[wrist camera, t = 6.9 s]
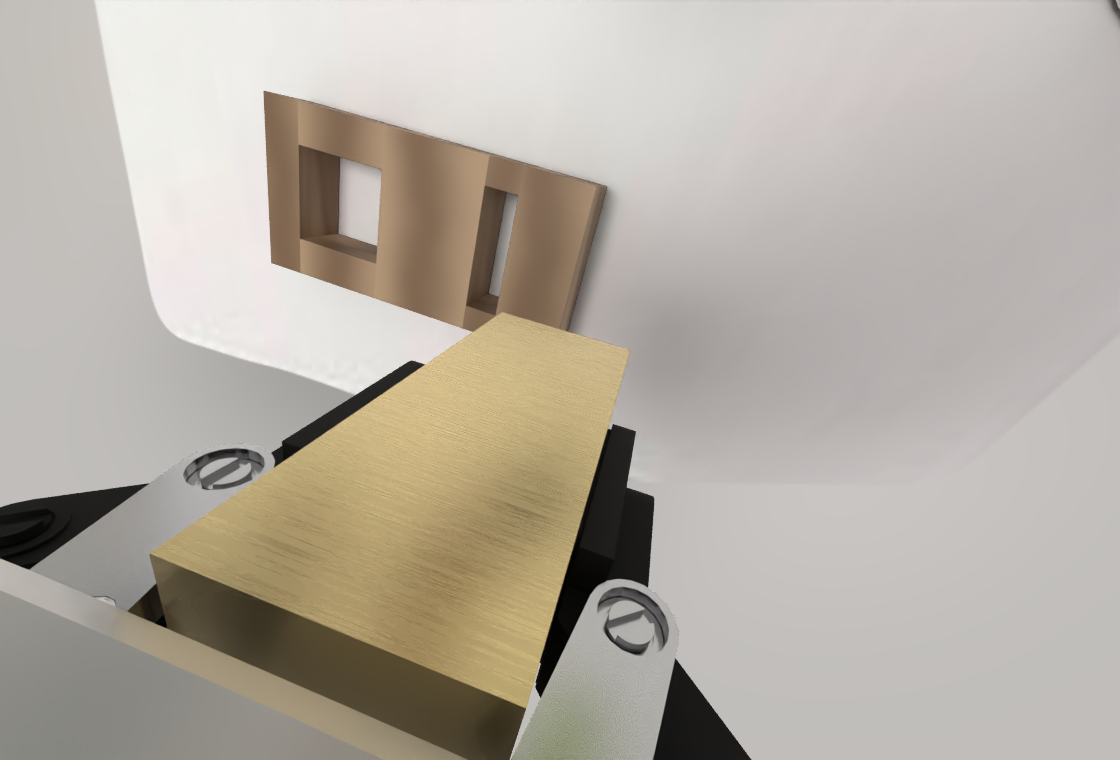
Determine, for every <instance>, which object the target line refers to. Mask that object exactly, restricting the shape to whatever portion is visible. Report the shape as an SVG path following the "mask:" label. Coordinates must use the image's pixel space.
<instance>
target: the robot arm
mask: <svg viewBox="0 0 1120 760" xmlns="http://www.w3.org/2000/svg"><path fill="white" fill-rule="evenodd" d="M1116 3H1117V5H1118V8H1119V9H1120V0H1116ZM424 365H425V364H422V363H419V362H415V361H409V362H407V363H406V364H404V365H403V366H401V367H399V368H398V369H396V370H395V371H393V372H392V373H390V374H388V375H387V376H385V377H384V378H382V379H380V380H379V381H377V382H376V383H374V384H372V385H371V386H369V387H368V388H366V389H365V390H363V391H361V392H360V393H358V394H357V395H355V396H353V397H352V398H350V399H349V400H347V401H345V402H344V403H342V404H341V405H339V406H338V407H336V408H334V409H333V410H331V411H330V412H328V413H326V414H325V415H323V416H322V417H320V418H318V419H317V420H315V421H314V422H312V423H310V424H309V425H307V426H306V427H304V428H303V429H301V430H299V431H298V432H296V433H295V434H293V435H291V436H290V437H288V438H287V439H285V440H283V441H282V446H281V447H280V448H278V449H277V450H275V451H273V452H272V453H270V452H269V451H268V450H266V449H265V448H262V447H259V446H256V445H252V444H243V443H236V444H223V445H218V446H213V447H209V448H206V449H204V450H201V451H198V452H196V453H194V454H192V455H190V456H188V457H187V458H185V459H183V460H182V461H180V462H179V463H178V464H176V465H175V466H173V467H172V468H171V469H169V470H168V471H166V472H165V473H164V474H162V475H161V476H159V477H158V478H157V479H155V480H154V481H152V482H151V483H149V484H142V485H134V486H127V487H119V488H113V489H106V490H98V491H91V492H83V493H76V494H69V495H62V496H55V497H48V498H40V499H33V500H28V501H23V502H18V503H14V504H10V505H7V506H3V507H0V760H467V759H465V758H463V757H461V756H458V755H456V754H454V753H452V752H449V751H447V750H445V749H442V748H440V747H438V746H436V745H433V744H431V743H429V742H427V741H424V740H422V739H420V738H417V737H415V736H413V735H411V734H408V733H406V732H404V731H401V730H399V729H397V728H395V727H392V726H390V725H388V724H386V723H383V722H381V721H379V720H376V719H374V718H372V717H370V716H367V715H365V714H363V713H361V712H358V711H356V710H354V709H351V708H349V707H347V706H345V705H342V704H340V703H338V702H335V701H333V700H331V699H328V698H326V697H324V696H322V695H319V694H317V693H315V692H312V691H310V690H308V689H305V688H303V687H301V686H298V685H296V684H294V683H292V682H289V681H287V680H285V679H282V678H280V677H278V676H275V675H273V674H271V673H268V672H266V671H264V670H262V669H259V668H257V667H255V666H252V665H250V664H248V663H245V662H243V661H241V660H238V659H236V658H234V657H231V656H229V655H227V654H224V653H222V652H220V651H218V650H215V649H213V648H211V647H208V646H206V645H204V644H201V643H199V642H197V641H194V640H192V639H190V638H187V637H185V636H183V635H180V634H178V633H176V632H173V631H171V630H169V629H168V628H167V624H166V620H165V616H164V612H163V608H162V604H161V600H160V596H159V592H158V588H157V584H156V580H155V576H154V572H153V568H152V564H151V560H150V556H149V553H150V552H152V551H153V550H155V549H156V548H158V547H159V546H160V545H162V544H163V543H165V542H166V541H168V540H169V539H171V538H172V537H174V536H175V535H177V534H178V533H179V532H181V531H182V530H184V529H185V528H187V527H188V526H190V525H191V524H193V523H194V522H196V521H197V520H199V519H200V518H201V517H203V516H204V515H206V514H207V513H209V512H210V511H212V510H213V509H215V508H216V507H218V506H219V505H220V504H222V503H223V502H225V501H226V500H228V499H229V498H231V497H232V496H234V495H235V494H237V493H238V492H240V491H241V490H242V489H244V488H245V487H247V486H248V485H250V484H251V483H253V482H254V481H256V480H257V479H259V478H260V477H261V476H263V475H264V474H266V473H267V472H269V471H270V470H272V469H273V468H275V467H276V466H278V465H279V464H281V463H282V462H283V461H285V460H286V459H288V458H289V457H291V456H292V455H294V454H295V453H297V452H298V451H300V450H301V449H302V448H304V447H305V446H307V445H308V444H310V443H311V442H313V441H314V440H316V439H317V438H319V437H320V436H322V435H323V434H324V433H326V432H327V431H329V430H330V429H332V428H333V427H335V426H336V425H338V424H339V423H341V422H342V421H343V420H345V419H346V418H348V417H349V416H351V415H352V414H354V413H355V412H357V411H358V410H360V409H361V408H362V407H364V406H365V405H367V404H368V403H370V402H371V401H373V400H374V399H376V398H377V397H379V396H380V395H382V394H383V393H384V392H386V391H387V390H389V389H390V388H392V387H393V386H395V385H396V384H398V383H399V382H401V381H402V380H403V379H405V378H406V377H408V376H409V375H411V374H412V373H414V372H415V371H417V370H418V369H420V368H421V367H423V366H424ZM635 434H636V431H633V430H630V429H627V428H624V427H621V426H618V425H614V424H613V426H612V429H611V430H610V429H607V433H606V436H605V440H604V443H603V447H602V450H601V453H600V457H599V460H598V464H597V467H596V471H595V474H594V477H593V481H592V484H591V488H590V491H589V495H588V498H587V501H586V505H585V508H584V512H583V515H582V519H581V522H580V525H579V529H578V532H577V536H576V539H575V543H574V546H573V549H572V553H571V556H570V560H569V563H568V567H567V570H566V573H565V577H564V580H563V584H562V587H561V591H560V594H559V597H558V601H557V604H556V608H555V611H554V615H553V618H552V621H551V625H550V628H549V632H548V635H547V639H546V642H545V645H544V649H543V652H542V656H541V659H540V663H541V665H540V669H539V672H538V676H537V679H536V690H537V692H538V693H539V696H540V698H541V699H540V701H539V703H538V706H537V707H536V709H535V711H534V714H533V716H532V718H531V720H530V722H529V724H528V726H527V728H526V730H525V732H524V734H523V736H522V738H521V740H520V743H519V745H518V747H517V749H516V751H515V753H514V755H513V757H512V759H511V760H751V759H750V757H749V756H748V755H747V753H746V752H745V751H744V750H743V748H742V747H741V745H740V744H739V743H738V741H737V740H736V739H735V737H734V736H733V735H732V733H731V732H730V731H729V729H728V728H727V727H726V725H725V724H724V722H723V721H722V720H721V718H720V717H719V716H718V714H717V713H716V712H715V711H714V709H713V708H712V706H711V705H710V704H709V702H708V701H707V700H706V699H705V697H704V696H703V694H702V693H701V692H700V690H699V689H698V688H697V687H696V685H695V684H694V682H693V681H692V680H691V678H690V677H689V676H688V674H687V673H686V672H685V670H684V669H683V668H682V666H681V665H680V664H679V663H678V661H677V660H676V658H675V656H676V652H677V647H678V636H679V630H678V627H677V623H676V620H675V617H674V615H673V614H672V612H671V610H670V609H669V607H668V605H667V604H666V603H665V602H664V601H663V600H662V599H661V598H660V597H659V596H658V595H657V594H656V593H655V592H653V591H652V590H650V589H649V588H648V582H649V568H650V554H651V540H652V526H653V512H654V497H653V496H650V495H647V494H644V493H641V492H639V491H636V490H632V489H629V488H627V481H628V475H629V469H630V463H631V457H632V451H633V446H634V440H635Z"/></svg>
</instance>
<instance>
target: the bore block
mask: <svg viewBox="0 0 1120 760" xmlns="http://www.w3.org/2000/svg"><path fill="white" fill-rule="evenodd" d="M264 111H265V133H266V155H267V177H268V199H269V221H270V243H271V263H273V264H276V265H279V266H282V267H285V268H288V269H291V270H294V271H297V272H299V273H302V274H305V275H308V276H311V277H314V278H317V279H320V280H323V281H326V282H329V283H332V284H335V285H338V286H340V287H343V288H346V289H349V290H352V291H355V292H358V293H361V294H364V295H367V296H370V297H373V298H376V299H379V300H381V301H384V302H387V303H390V304H393V305H396V306H399V307H402V308H405V309H408V310H411V311H414V312H417V313H420V314H422V315H425V316H428V317H431V318H434V319H437V320H440V321H443V322H446V323H449V324H452V325H455V326H458V327H461V328H463V329H466V330H469V331H472V332H474V331H475V330H477V329H478V328H480V327H481V326H483V325H484V324H485V323H487V322H488V321H490V320H491V319H493V318H494V317H496V316H497V315H499V314H500V313H502V312H503V313H506V314H510V315H513V316H517V317H520V318H523V319H527V320H530V321H534V322H537V323H540V324H544V325H547V326H551V327H554V328H557V329H561V330H564V331H568V328H569V324H570V321H571V317H572V313H573V310H574V306H575V302H576V299H577V295H578V291H579V288H580V284H581V280H582V277H583V273H584V269H585V266H586V262H587V258H588V255H589V251H590V247H591V244H592V240H593V236H594V233H595V229H596V225H597V222H598V218H599V214H600V211H601V207H602V203H603V200H604V196H605V192H606V189H607V186H604V185H601V184H597V183H594V182H590V181H587V180H583V179H580V178H576V177H573V176H569V175H566V174H562V173H559V172H555V171H552V170H548V169H545V168H541V167H538V166H534V165H531V164H527V163H524V162H520V161H517V160H513V159H510V158H506V157H503V156H499V155H496V154H492V153H489V152H485V151H482V150H478V149H475V148H471V147H468V146H464V145H461V144H457V143H454V142H450V141H447V140H443V139H440V138H436V137H433V136H429V135H426V134H422V133H419V132H415V131H412V130H408V129H405V128H401V127H398V126H394V125H391V124H387V123H384V122H380V121H377V120H373V119H370V118H366V117H363V116H359V115H356V114H352V113H349V112H345V111H342V110H338V109H335V108H331V107H328V106H324V105H321V104H317V103H314V102H310V101H306V100H302V99H297V98H293V97H289V96H284V95H280V94H276V93H271V92H267V91H264ZM340 157H342V158H345V159H349V160H352V161H355V162H359V163H362V164H365V165H369V166H372V167H375V168H379V169H382V177H381V194H380V210H379V227H378V243H377V246H374V245H371V244H368V243H365V242H362V241H359V240H356V239H353V238H350V237H346V236H343V235H340V234H338V206H339V159H340ZM506 192H509V193H512V194H515V195H519V196H518V201H517V207H516V212H515V217H514V222H513V227H512V233H511V238H510V243H509V248H508V254H507V259H506V264H505V269H504V274H503V280H502V285H501V290H500V295H499V297H497V296H494V295H491V294H488V291H489V286H490V280H491V274H492V269H493V263H494V258H495V252H496V247H497V241H498V235H499V230H500V224H501V219H502V213H503V208H504V202H505V196H506Z"/></svg>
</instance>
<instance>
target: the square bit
mask: <svg viewBox="0 0 1120 760" xmlns="http://www.w3.org/2000/svg"><path fill="white" fill-rule="evenodd" d="M630 351H631V350H629V349H625V348H622V347H618V346H615V345H612V344H608V343H605V342H601V341H598V340H595V339H591V338H588V337H584V336H581V335H578V334H574V333H571V332H567V331H564V330H561V329H557V328H554V327H551V326H547V325H544V324H540V323H537V322H534V321H530V320H527V319H523V318H520V317H517V316H513V315H510V314H506V313H503V312H502V313H500V314H499V315H497V316H496V317H494V318H493V319H491V320H490V321H488V322H487V323H485V324H484V325H483V326H481V327H480V328H478V329H477V330H475V331H474V332H472V333H471V334H469V335H468V336H466V337H465V338H464V339H462V340H461V341H459V342H458V343H456V344H455V345H453V346H452V347H450V348H449V349H447V350H446V351H444V352H443V353H442V354H440V355H439V356H437V357H436V358H434V359H433V360H431V361H430V362H428V363H427V364H425V365H424V366H423V367H421V368H420V369H418V370H417V371H415V372H414V373H412V374H411V375H409V376H408V377H406V378H405V379H403V380H402V381H401V382H399V383H398V384H396V385H395V386H393V387H392V388H390V389H389V390H387V391H386V392H384V393H383V394H382V395H380V396H379V397H377V398H376V399H374V400H373V401H371V402H370V403H368V404H367V405H365V406H364V407H362V408H361V409H360V410H358V411H357V412H355V413H354V414H352V415H351V416H349V417H348V418H346V419H345V420H343V421H342V422H341V423H339V424H338V425H336V426H335V427H333V428H332V429H330V430H329V431H327V432H326V433H324V434H323V435H322V436H320V437H319V438H317V439H316V440H314V441H313V442H311V443H310V444H308V445H307V446H305V447H304V448H302V449H301V450H300V451H298V452H297V453H295V454H294V455H292V456H291V457H289V458H288V459H286V460H285V461H283V462H282V463H281V464H279V465H278V466H276V467H275V468H273V469H272V470H270V471H269V472H267V473H266V474H264V475H263V476H261V477H260V478H259V479H257V480H256V481H254V482H253V483H251V484H250V485H248V486H247V487H245V488H244V489H242V490H241V491H240V492H238V493H237V494H235V495H234V496H232V497H231V498H229V499H228V500H226V501H225V502H223V503H222V504H220V505H219V506H218V507H216V508H215V509H213V510H212V511H210V512H209V513H207V514H206V515H204V516H203V517H201V518H200V519H199V520H197V521H196V522H194V523H193V524H191V525H190V526H188V527H187V528H185V529H184V530H182V531H181V532H179V533H178V534H177V535H175V536H174V537H172V538H171V539H169V540H168V541H166V542H165V543H163V544H162V545H160V546H159V547H158V548H156V549H155V550H153V551H152V552H150V553H149V556H150V560H151V564H152V568H153V572H154V576H155V580H156V584H157V588H158V592H159V596H160V600H161V604H162V608H163V612H164V616H165V620H166V624H167V628H168V629H169V630H171V631H173V632H176V633H178V634H180V635H183V636H185V637H187V638H190V639H192V640H194V641H197V642H199V643H201V644H204V645H206V646H208V647H211V648H213V649H215V650H218V651H220V652H222V653H224V654H227V655H229V656H231V657H234V658H236V659H238V660H241V661H243V662H245V663H248V664H250V665H252V666H255V667H257V668H259V669H262V670H264V671H266V672H268V673H271V674H273V675H275V676H278V677H280V678H282V679H285V680H287V681H289V682H292V683H294V684H296V685H298V686H301V687H303V688H305V689H308V690H310V691H312V692H315V693H317V694H319V695H322V696H324V697H326V698H328V699H331V700H333V701H335V702H338V703H340V704H342V705H345V706H347V707H349V708H351V709H354V710H356V711H358V712H361V713H363V714H365V715H367V716H370V717H372V718H374V719H376V720H379V721H381V722H383V723H386V724H388V725H390V726H392V727H395V728H397V729H399V730H401V731H404V732H406V733H408V734H411V735H413V736H415V737H417V738H420V739H422V740H424V741H427V742H429V743H431V744H433V745H436V746H438V747H440V748H442V749H445V750H447V751H449V752H452V753H454V754H456V755H458V756H461V757H463V758H465V759H467V760H510V756H511V753H512V750H513V747H514V744H515V741H516V738H517V735H518V731H519V729H520V726H521V723H522V719H523V717H524V713H525V710H526V707H527V704H528V700H529V697H530V693H531V690H532V687H533V683H534V680H535V676H536V673H537V669H538V666H539V663H540V659H541V656H542V652H543V649H544V645H545V642H546V639H547V635H548V632H549V628H550V625H551V621H552V618H553V615H554V611H555V608H556V604H557V601H558V597H559V594H560V591H561V587H562V584H563V580H564V577H565V573H566V570H567V567H568V563H569V560H570V556H571V553H572V549H573V546H574V543H575V539H576V536H577V532H578V529H579V525H580V522H581V519H582V515H583V512H584V508H585V505H586V501H587V498H588V495H589V491H590V488H591V484H592V481H593V477H594V474H595V471H596V467H597V464H598V460H599V457H600V453H601V450H602V447H603V443H604V440H605V436H606V433H607V429H608V426H609V423H610V419H611V416H612V412H613V409H614V405H615V402H616V399H617V395H618V392H619V388H620V385H621V381H622V378H623V375H624V371H625V368H626V364H627V361H628V357H629V354H630Z"/></svg>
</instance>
